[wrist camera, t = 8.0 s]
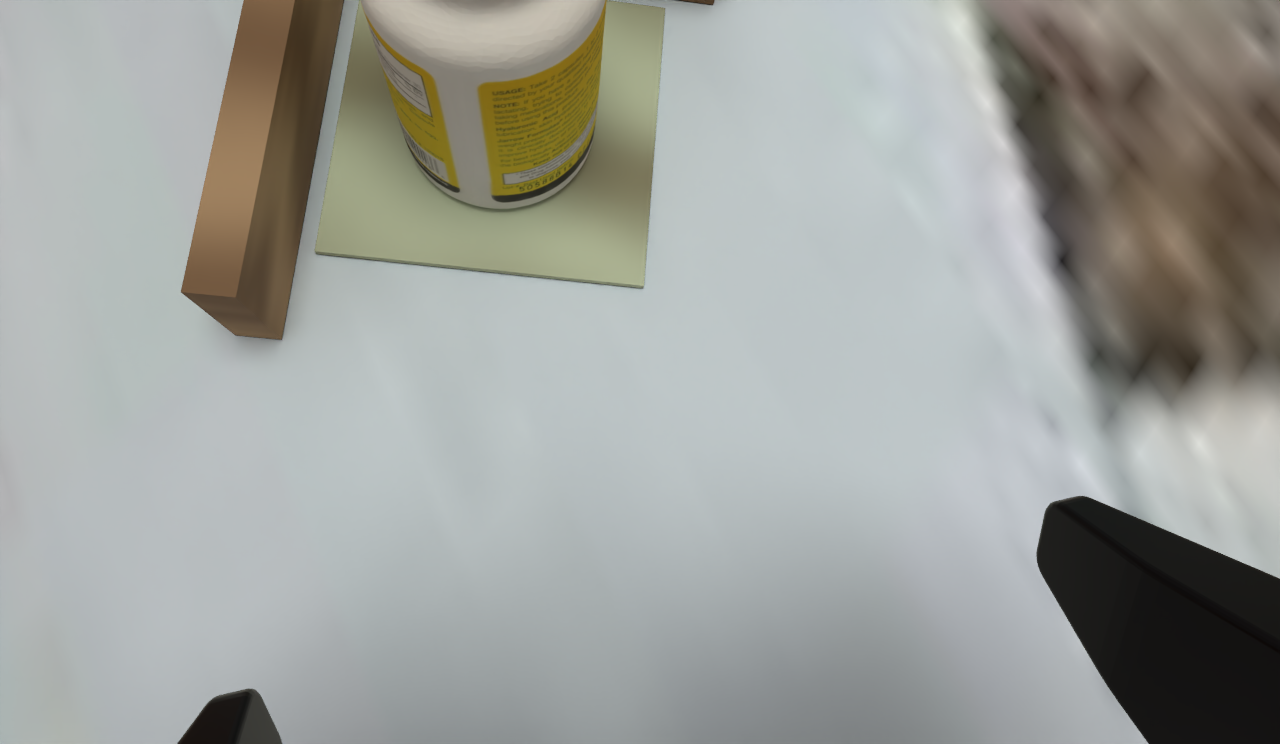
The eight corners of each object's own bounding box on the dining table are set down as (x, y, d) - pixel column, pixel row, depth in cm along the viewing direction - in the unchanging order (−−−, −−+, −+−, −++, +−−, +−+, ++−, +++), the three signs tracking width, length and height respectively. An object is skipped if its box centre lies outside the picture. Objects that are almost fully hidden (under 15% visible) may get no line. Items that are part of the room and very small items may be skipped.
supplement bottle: (614, 72, 26) (653, -227, 16) (567, 236, 24) (580, 13, 15) (436, 22, 25) (371, -310, 16) (378, 185, 24) (269, -73, 15)
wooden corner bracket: (690, 379, 24) (713, 345, 20) (165, 328, 23) (97, 283, 19) (715, -29, 27) (739, -116, 24) (256, -92, 26) (212, -193, 23)
